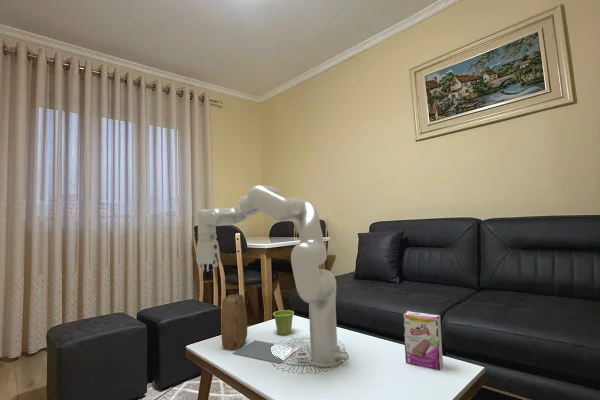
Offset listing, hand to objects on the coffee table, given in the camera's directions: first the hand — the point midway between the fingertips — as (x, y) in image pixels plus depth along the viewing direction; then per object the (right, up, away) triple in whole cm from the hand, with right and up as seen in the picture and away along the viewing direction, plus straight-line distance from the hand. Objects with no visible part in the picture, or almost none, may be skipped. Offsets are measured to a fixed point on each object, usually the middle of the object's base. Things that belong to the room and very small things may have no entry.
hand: (207, 280), depth 140 cm
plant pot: (+33, -25, +4) cm, 41 cm away
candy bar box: (+82, -21, -32) cm, 90 cm away
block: (+14, -25, -8) cm, 29 cm away
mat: (+27, -24, -16) cm, 39 cm away
